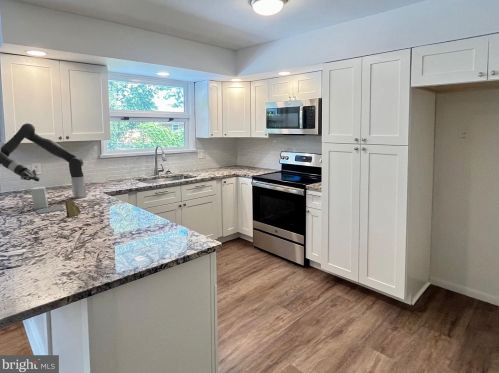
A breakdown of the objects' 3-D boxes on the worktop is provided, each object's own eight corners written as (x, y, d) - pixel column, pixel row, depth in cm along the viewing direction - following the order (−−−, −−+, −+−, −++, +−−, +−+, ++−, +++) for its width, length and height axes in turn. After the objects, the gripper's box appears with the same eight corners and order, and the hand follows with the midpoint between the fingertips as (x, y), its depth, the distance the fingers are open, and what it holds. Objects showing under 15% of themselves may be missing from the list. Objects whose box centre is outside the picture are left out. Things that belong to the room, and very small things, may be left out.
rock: (78, 208, 228) (62, 209, 221) (81, 199, 224) (65, 199, 217) (82, 220, 223) (66, 221, 216) (86, 211, 219) (70, 212, 212)
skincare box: (48, 206, 247) (45, 186, 244) (47, 207, 241) (44, 187, 239) (34, 207, 243) (32, 187, 240) (33, 209, 238) (30, 188, 235)
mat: (59, 206, 245) (59, 205, 245) (64, 209, 234) (64, 209, 234) (34, 210, 235) (34, 209, 235) (38, 214, 224) (38, 213, 224)
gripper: (24, 169, 251) (44, 180, 251) (9, 176, 239) (30, 188, 240) (25, 161, 247) (46, 172, 247) (10, 168, 236) (31, 180, 236)
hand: (38, 180), depth 243 cm, fingers closed
